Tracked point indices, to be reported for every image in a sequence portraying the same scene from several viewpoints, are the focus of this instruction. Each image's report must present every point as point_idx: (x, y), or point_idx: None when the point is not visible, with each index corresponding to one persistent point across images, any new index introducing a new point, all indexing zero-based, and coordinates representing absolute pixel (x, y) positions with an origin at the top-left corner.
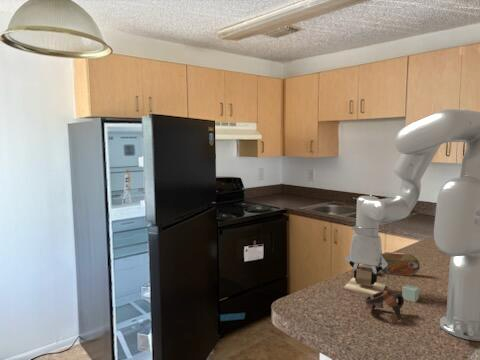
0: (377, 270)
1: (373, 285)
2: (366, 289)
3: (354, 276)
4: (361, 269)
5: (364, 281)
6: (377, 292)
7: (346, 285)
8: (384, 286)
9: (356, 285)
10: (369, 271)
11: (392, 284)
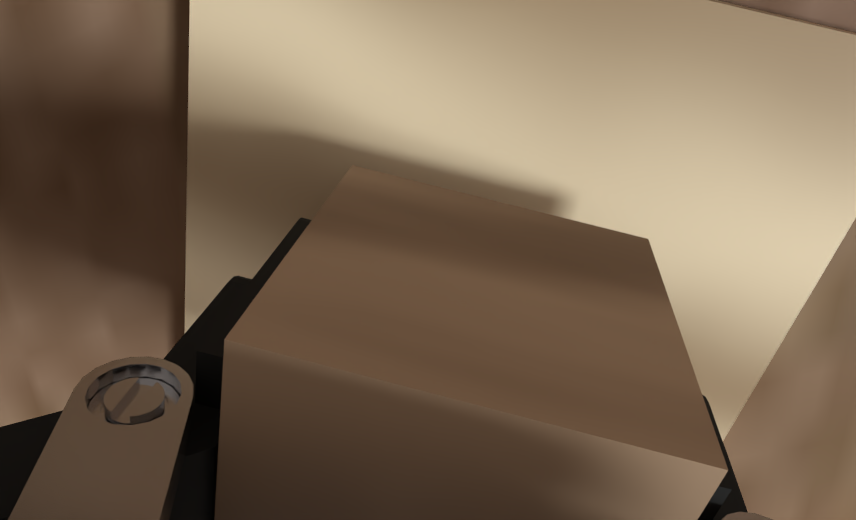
0: (37, 450)
1: None
2: (440, 137)
3: None
4: (549, 512)
5: (470, 232)
6: (239, 58)
7: (828, 221)
8: None
9: None
10: (288, 401)
11: None
